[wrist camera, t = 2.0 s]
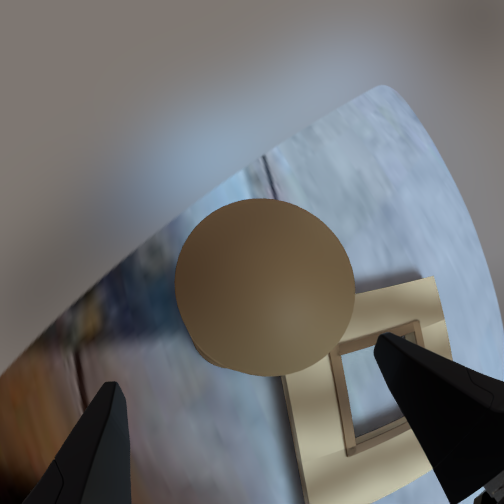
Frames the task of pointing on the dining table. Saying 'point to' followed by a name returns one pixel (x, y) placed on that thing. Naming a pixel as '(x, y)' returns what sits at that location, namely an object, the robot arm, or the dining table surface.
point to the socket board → (338, 407)
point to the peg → (264, 288)
